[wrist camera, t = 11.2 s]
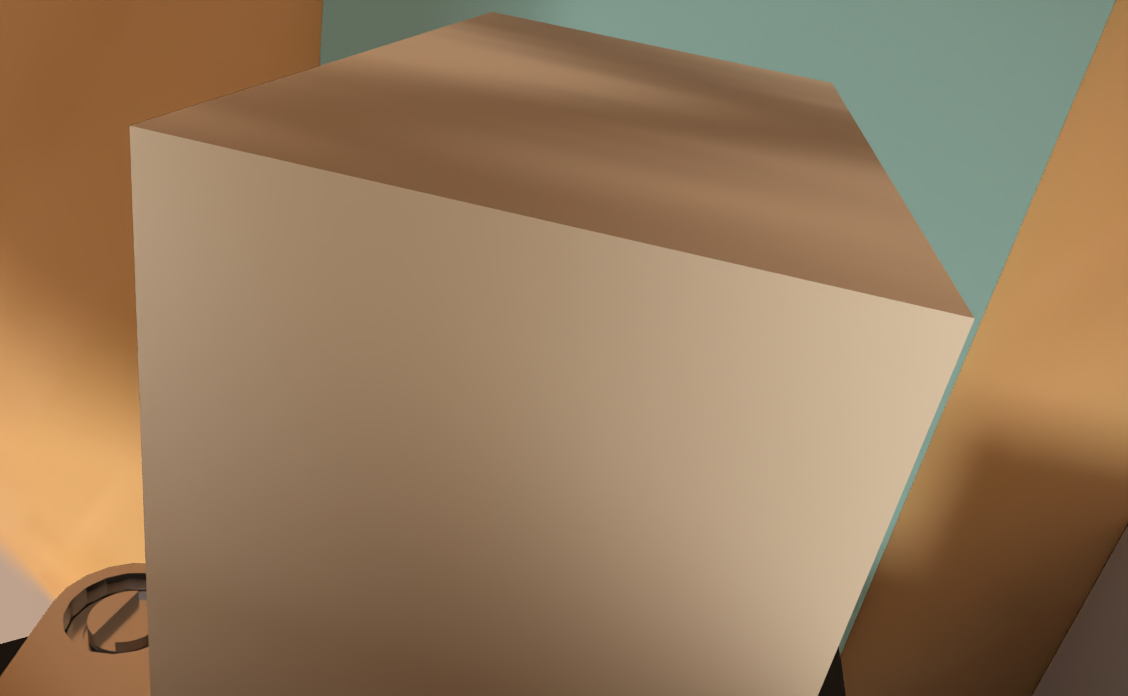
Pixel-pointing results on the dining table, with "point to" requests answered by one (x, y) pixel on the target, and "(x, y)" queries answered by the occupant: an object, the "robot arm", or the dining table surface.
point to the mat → (859, 97)
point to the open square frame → (1095, 638)
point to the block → (522, 372)
